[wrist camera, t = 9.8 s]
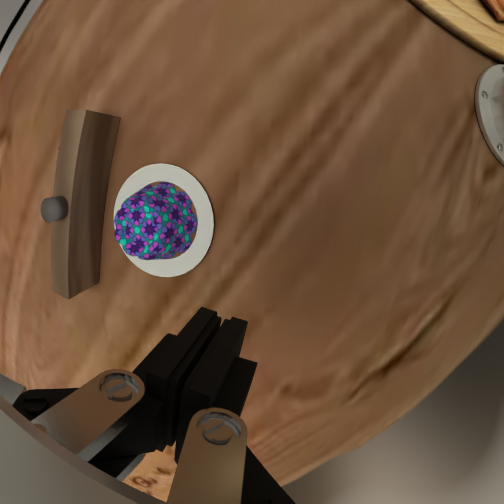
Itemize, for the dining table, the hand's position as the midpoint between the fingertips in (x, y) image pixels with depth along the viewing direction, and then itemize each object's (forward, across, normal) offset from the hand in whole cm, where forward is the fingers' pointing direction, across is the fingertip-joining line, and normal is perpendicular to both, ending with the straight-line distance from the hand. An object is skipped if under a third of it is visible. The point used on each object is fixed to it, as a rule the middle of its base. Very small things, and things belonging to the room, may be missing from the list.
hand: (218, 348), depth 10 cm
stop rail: (+19, +22, +1) cm, 29 cm away
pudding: (+20, +12, +1) cm, 23 cm away
